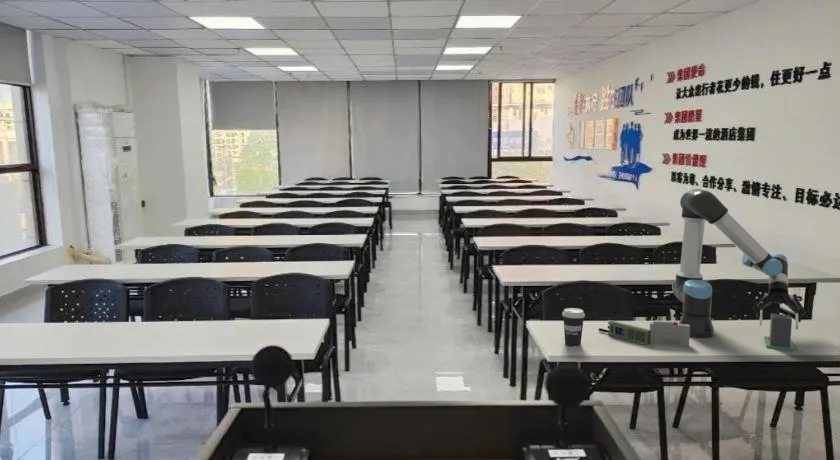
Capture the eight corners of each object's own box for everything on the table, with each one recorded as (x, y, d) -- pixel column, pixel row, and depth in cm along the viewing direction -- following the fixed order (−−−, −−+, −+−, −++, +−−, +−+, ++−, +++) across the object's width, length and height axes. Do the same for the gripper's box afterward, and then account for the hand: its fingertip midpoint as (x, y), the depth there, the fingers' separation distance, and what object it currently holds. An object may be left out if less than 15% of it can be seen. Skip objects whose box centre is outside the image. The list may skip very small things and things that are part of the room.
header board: (766, 347, 251) (767, 338, 251) (764, 338, 264) (764, 329, 263) (794, 351, 247) (794, 341, 246) (790, 341, 259) (791, 332, 259)
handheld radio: (647, 346, 255) (596, 332, 275) (651, 344, 257) (600, 331, 277) (648, 330, 255) (597, 318, 274) (652, 329, 257) (601, 317, 276)
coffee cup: (556, 342, 260) (557, 309, 258) (574, 339, 264) (575, 306, 262) (570, 349, 252) (571, 314, 250) (588, 346, 255) (589, 311, 253)
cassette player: (687, 344, 256) (688, 322, 255) (688, 346, 254) (690, 323, 252) (649, 342, 260) (650, 320, 259) (649, 344, 258) (650, 321, 256)
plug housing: (770, 345, 251) (772, 317, 250) (769, 340, 258) (771, 313, 256) (789, 347, 248) (791, 319, 247) (788, 342, 254) (790, 315, 253)
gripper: (809, 292, 269) (811, 333, 258) (746, 287, 280) (745, 326, 269) (812, 283, 263) (813, 325, 252) (747, 278, 275) (746, 318, 263)
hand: (778, 325), depth 261 cm, fingers open, 13 cm apart
